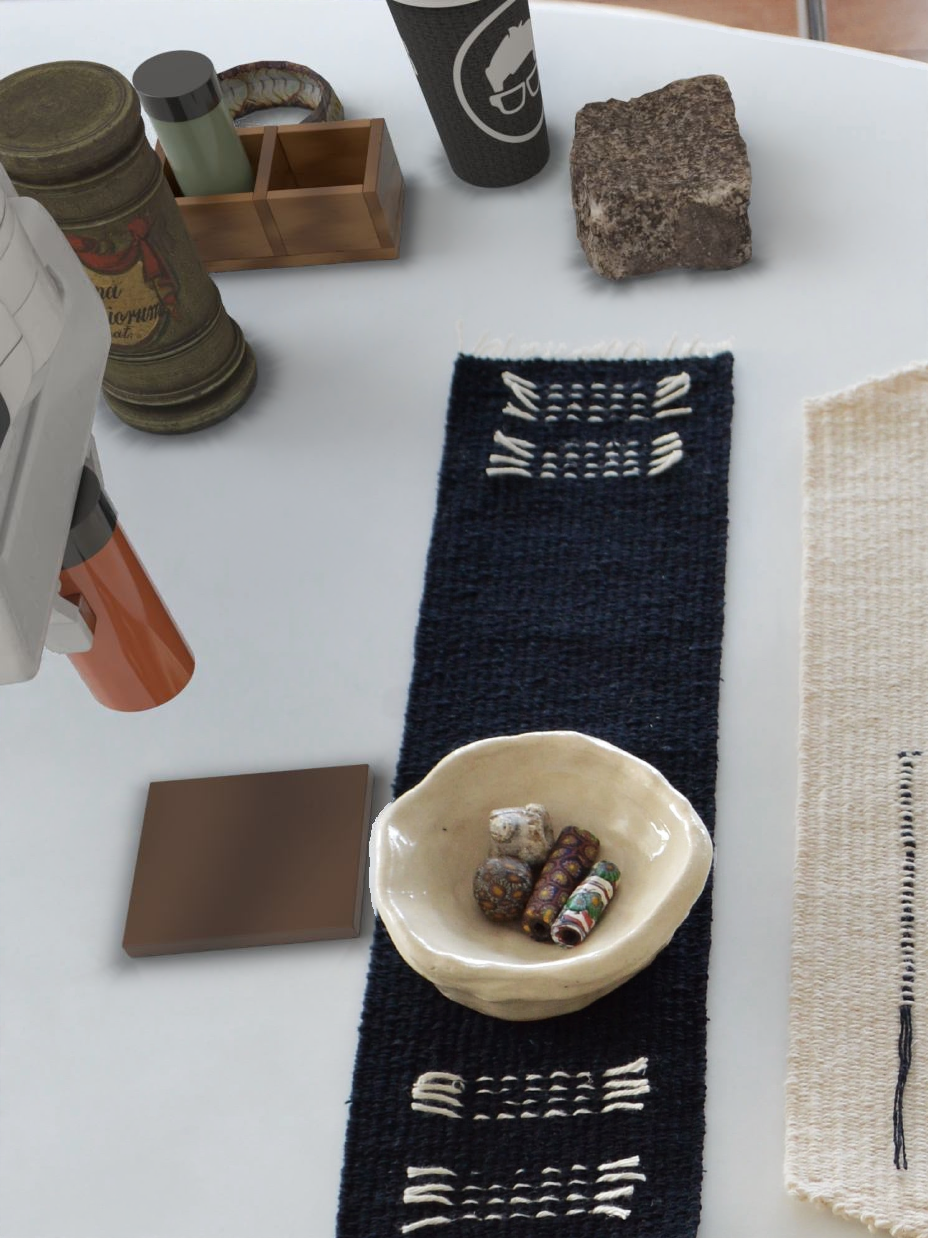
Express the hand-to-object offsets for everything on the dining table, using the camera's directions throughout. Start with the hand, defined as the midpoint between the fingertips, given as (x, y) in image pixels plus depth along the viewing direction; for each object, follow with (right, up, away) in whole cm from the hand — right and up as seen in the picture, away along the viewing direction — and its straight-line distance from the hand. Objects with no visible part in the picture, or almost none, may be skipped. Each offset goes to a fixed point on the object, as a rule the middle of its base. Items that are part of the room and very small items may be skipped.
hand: (87, 586), depth 76 cm
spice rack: (-8, +32, +42) cm, 54 cm away
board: (0, -10, +17) cm, 20 cm away
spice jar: (0, -3, +5) cm, 5 cm away
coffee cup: (+5, +38, +46) cm, 60 cm away
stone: (+16, +33, +43) cm, 57 cm away
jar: (-11, +32, +42) cm, 54 cm away
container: (-11, +20, +35) cm, 42 cm away
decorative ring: (-11, +39, +47) cm, 62 cm away
